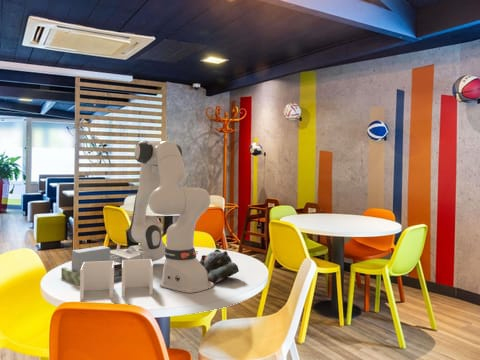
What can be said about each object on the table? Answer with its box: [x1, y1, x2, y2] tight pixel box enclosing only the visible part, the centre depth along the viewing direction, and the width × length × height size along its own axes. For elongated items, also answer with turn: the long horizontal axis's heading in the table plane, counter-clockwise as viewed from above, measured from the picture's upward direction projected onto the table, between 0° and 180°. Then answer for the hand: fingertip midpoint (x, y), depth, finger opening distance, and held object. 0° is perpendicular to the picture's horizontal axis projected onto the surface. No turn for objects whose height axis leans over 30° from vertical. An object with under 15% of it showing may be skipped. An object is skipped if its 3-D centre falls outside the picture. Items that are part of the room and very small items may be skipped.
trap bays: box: [114, 271, 122, 283], centre depth 170 cm, size 28×9×2 cm, turn 48°
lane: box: [61, 263, 122, 286], centre depth 168 cm, size 16×27×4 cm, turn 138°
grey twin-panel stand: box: [79, 259, 154, 301], centre depth 145 cm, size 25×11×11 cm, turn 106°
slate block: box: [71, 245, 111, 273], centre depth 165 cm, size 6×14×12 cm, turn 138°
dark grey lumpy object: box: [198, 248, 240, 284], centre depth 165 cm, size 15×12×14 cm
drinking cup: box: [124, 228, 140, 250], centre depth 205 cm, size 8×8×20 cm
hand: (107, 260), depth 170 cm, fingers closed
